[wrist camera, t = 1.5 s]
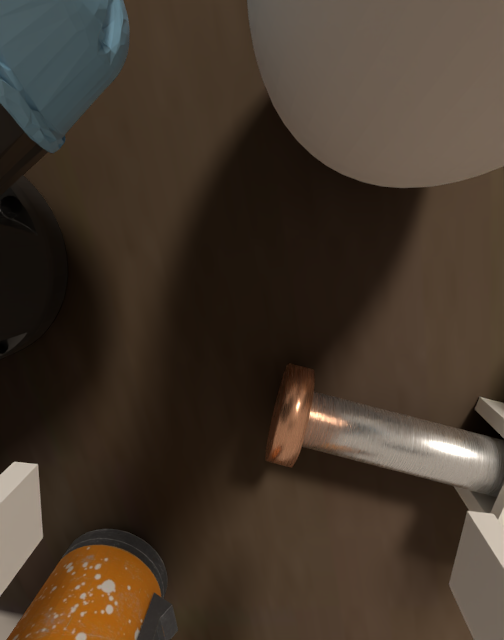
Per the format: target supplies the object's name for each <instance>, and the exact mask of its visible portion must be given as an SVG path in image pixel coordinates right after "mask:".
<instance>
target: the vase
mask: <svg viewBox="0 0 504 640" xmlns="http://www.w3.org/2000/svg"><path fill="white" fill-rule="evenodd" d="M247 4H248V15H249V25H250V31H251V36H252V42H253V48H254V52H255V56H256V60H257V63H258V67H259V70H260V74H261V77H262V80H263V82H264V85H265V87H266V90H267V92H268V94H269V97H270V99H271V101H272V104H273V106H274V108H275V109H276V111H277V113H278V115H279V116H280V118H281V120H282V121H283V123H284V125H285V126H286V127H287V128H288V130H289V131H290V132H291V134H292V135H293V136H294V137H295V139H296V140H297V141H298V142H299V143H300V144H301V145H302V146H303V147H304V148H305V149H306V150H307V151H308V152H309V153H310V154H311V155H313V156H314V157H315V158H317V159H318V160H319V161H321V162H322V163H323V164H325V165H326V166H328V167H330V168H331V169H333V170H335V171H337V172H339V173H341V174H343V175H345V176H348V177H350V178H353V179H356V180H358V181H361V182H364V183H369V184H373V185H377V186H383V187H394V188H415V187H432V186H438V185H443V184H449V183H454V182H458V181H462V180H465V179H469V178H472V177H476V176H480V175H482V174H485V173H487V172H490V171H493V170H495V169H498V168H500V167H503V166H504V0H247Z"/></svg>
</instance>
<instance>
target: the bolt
mask: <svg viewBox="0 0 504 640" xmlns="http://www.w3.org/2000/svg"><path fill="white" fill-rule="evenodd" d="M314 383H315V374H314V370H313V369H310V368H306V367H302V366H298V365H294V364H290V363H288V365H287V367H286V369H285V372H284V374H283V377H282V381H281V384H280V387H279V391H278V395H277V399H276V402H275V407H274V411H273V415H272V420H271V424H270V429H269V434H268V440H267V446H266V455H265V459H266V461H268V462H272V463H275V464H279V465H283V466H287V467H293V466H294V464H295V462H296V460H297V458H298V456H299V453H300V450H301V447H305V448H309V449H313V450H317V451H321V452H324V453H328V454H332V455H336V456H340V457H344V458H348V459H351V460H355V461H359V462H363V463H367V464H371V465H374V466H378V467H382V468H386V469H390V470H394V471H398V472H401V473H405V474H409V475H413V476H417V477H421V478H425V479H428V480H432V481H436V482H440V483H444V484H448V485H452V486H455V487H459V488H463V489H467V490H471V491H475V492H478V493H482V494H486V495H490V496H494V497H498V495H499V492H500V490H501V488H502V486H503V484H504V440H501V439H498V438H494V437H490V436H486V435H482V434H478V433H474V432H470V431H466V430H462V429H458V428H455V427H451V426H447V425H443V424H439V423H435V422H431V421H427V420H423V419H419V418H415V417H412V416H408V415H404V414H400V413H396V412H392V411H388V410H384V409H380V408H376V407H372V406H369V405H365V404H361V403H357V402H353V401H349V400H345V399H341V398H337V397H333V396H329V395H326V394H322V393H318V392H314Z"/></svg>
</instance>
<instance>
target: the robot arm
mask: <svg viewBox="0 0 504 640" xmlns="http://www.w3.org/2000/svg"><path fill="white" fill-rule="evenodd" d="M128 48H129V22H128V16H127V12H126V8H125V5H124V1H123V0H0V359H2V358H5V357H7V356H9V355H11V354H13V353H15V352H18V351H20V350H22V349H24V348H26V347H27V346H29V345H30V344H32V343H33V342H35V341H36V340H37V339H38V338H40V337H41V336H42V335H43V334H44V333H45V332H46V330H47V329H48V328H49V327H50V325H51V324H52V323H53V321H54V319H55V318H56V316H57V314H58V312H59V310H60V307H61V305H62V302H63V299H64V295H65V291H66V285H67V274H68V266H67V255H66V249H65V244H64V240H63V237H62V233H61V231H60V228H59V225H58V223H57V221H56V218H55V216H54V214H53V212H52V211H51V209H50V207H49V206H48V204H47V202H46V201H45V200H44V198H43V197H42V195H41V194H40V193H39V192H38V190H37V189H36V188H35V187H34V186H33V185H32V183H30V182H29V181H28V180H27V179H26V178H25V177H24V176H23V175H24V174H25V173H26V172H27V171H28V170H29V169H30V168H31V167H32V166H33V165H34V164H35V163H37V162H38V161H39V160H40V159H41V158H42V157H43V156H44V155H45V154H46V153H47V152H50V153H55V152H56V151H57V150H59V149H60V148H61V146H62V145H63V144H64V142H65V134H66V133H67V131H68V130H69V129H70V128H71V127H72V126H73V125H74V124H75V122H76V121H77V120H78V119H79V118H80V117H81V116H82V115H83V113H84V112H85V111H86V110H87V109H88V108H89V107H90V106H91V104H92V103H93V102H94V101H95V100H96V99H97V98H98V97H99V95H100V94H101V93H102V92H103V91H104V90H105V89H106V88H107V87H108V86H109V85H110V84H111V83H112V82H113V81H114V79H115V78H116V77H117V76H118V74H119V73H120V71H121V69H122V67H123V65H124V63H125V60H126V57H127V53H128ZM42 538H43V531H42V516H41V501H40V486H39V471H38V464H31V463H22V462H13V463H12V464H11V465H10V466H9V467H8V468H7V469H6V470H5V471H4V472H3V473H2V474H0V596H1V594H2V593H3V592H4V590H5V589H6V587H7V586H8V585H9V583H10V582H11V581H12V579H13V578H14V576H15V575H16V574H17V572H18V571H19V570H20V568H21V567H22V566H23V564H24V563H25V561H26V560H27V559H28V557H29V556H30V555H31V553H32V552H33V550H34V549H35V548H36V546H37V545H38V544H39V542H40V541H41V539H42ZM449 586H450V589H451V591H452V593H453V595H454V597H455V600H456V602H457V604H458V606H459V608H460V611H461V613H462V615H463V617H464V619H465V621H466V624H467V626H468V628H469V630H470V632H471V635H472V637H473V639H474V640H504V528H503V526H502V525H501V523H500V522H499V521H498V519H497V518H496V516H495V515H494V514H491V513H482V512H473V511H467V514H466V518H465V522H464V526H463V530H462V534H461V538H460V542H459V546H458V550H457V554H456V558H455V562H454V566H453V570H452V574H451V578H450V582H449Z"/></svg>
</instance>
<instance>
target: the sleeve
mask: <svg viewBox="0 0 504 640" xmlns="http://www.w3.org/2000/svg"><path fill="white" fill-rule="evenodd" d="M475 410H476V411H477V412H478V413H479V414H480V415H481V416H482V417H483V418H484V419H485V420H486V421H487V422H488V423H489V424H490V425H491V426H492V427H493V428H494V429H495V430H496V431H497V432H498V433H499V434H500V435H501V436H502V437H503V438H504V403H502V402H498V401H494V400H490V399H486V398H482V397H479V400H478V402H477V405H476V407H475ZM454 488H455V489H456V491H457V492H458V494H459V495H460V497H461V499H462V500H463V502H464V503H465V505H466V506H467V508H468V510H469V511H473V512H482V513H491V514H494V515H495V516H496V518H497V519H498V521H499V522H500V523H501V525H502V526H503V528H504V484H503V486H502V488H501V490H500V492H499V495H498V497H494V496H490V495H486V494H482V493H478V492H475V491H471V490H467V489H463V488H459V487H455V486H454Z"/></svg>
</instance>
